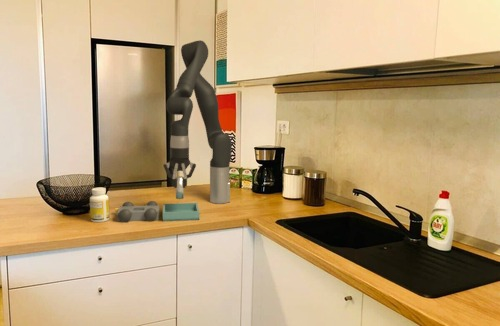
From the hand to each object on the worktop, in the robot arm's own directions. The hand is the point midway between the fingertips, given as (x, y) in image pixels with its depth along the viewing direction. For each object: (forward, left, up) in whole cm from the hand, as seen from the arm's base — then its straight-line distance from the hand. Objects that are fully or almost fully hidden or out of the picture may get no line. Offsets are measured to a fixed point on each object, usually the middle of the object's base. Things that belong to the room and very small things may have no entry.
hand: (179, 187), depth 171 cm
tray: (0, 0, -12) cm, 12 cm away
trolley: (+18, 0, -12) cm, 21 cm away
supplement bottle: (+32, +2, -12) cm, 34 cm away
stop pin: (0, 0, -5) cm, 5 cm away
